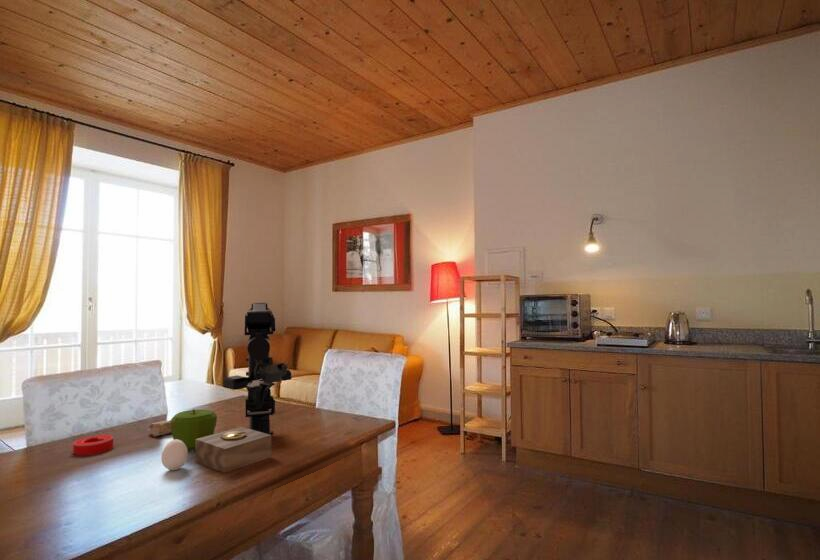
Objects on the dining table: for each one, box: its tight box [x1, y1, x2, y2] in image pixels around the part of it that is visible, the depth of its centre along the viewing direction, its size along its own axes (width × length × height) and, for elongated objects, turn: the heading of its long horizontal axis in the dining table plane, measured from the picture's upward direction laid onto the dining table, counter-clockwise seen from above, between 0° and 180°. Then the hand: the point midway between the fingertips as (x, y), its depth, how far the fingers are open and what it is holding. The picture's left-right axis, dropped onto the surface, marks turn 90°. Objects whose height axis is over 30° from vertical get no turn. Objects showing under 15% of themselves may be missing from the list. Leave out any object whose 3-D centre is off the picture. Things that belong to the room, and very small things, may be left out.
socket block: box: [194, 426, 272, 474], centre depth 123 cm, size 14×14×6 cm
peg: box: [222, 431, 245, 441], centre depth 123 cm, size 6×6×6 cm
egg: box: [160, 439, 189, 471], centre depth 116 cm, size 6×6×8 cm
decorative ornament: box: [72, 434, 114, 456], centre depth 133 cm, size 10×10×3 cm
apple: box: [170, 408, 218, 452], centre depth 134 cm, size 12×12×11 cm
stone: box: [148, 419, 172, 438], centre depth 148 cm, size 8×10×4 cm
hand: (259, 408), depth 129 cm, fingers closed
